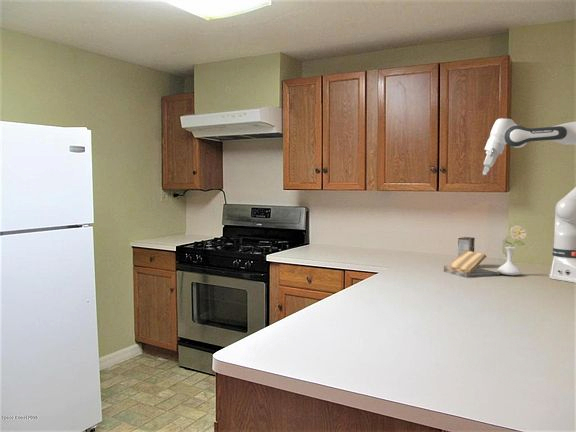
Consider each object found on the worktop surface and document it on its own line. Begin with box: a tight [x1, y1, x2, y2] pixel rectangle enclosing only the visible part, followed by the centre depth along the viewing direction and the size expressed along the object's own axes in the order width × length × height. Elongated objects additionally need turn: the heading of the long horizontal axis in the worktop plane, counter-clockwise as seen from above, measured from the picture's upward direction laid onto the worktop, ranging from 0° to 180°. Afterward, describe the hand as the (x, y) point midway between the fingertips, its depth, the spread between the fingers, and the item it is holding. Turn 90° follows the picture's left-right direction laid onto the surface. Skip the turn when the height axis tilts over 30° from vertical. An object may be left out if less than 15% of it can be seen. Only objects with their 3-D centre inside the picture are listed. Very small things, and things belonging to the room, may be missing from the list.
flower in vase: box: [496, 225, 528, 276], centre depth 236 cm, size 13×11×25 cm
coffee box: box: [457, 236, 475, 257], centre depth 260 cm, size 9×6×16 cm
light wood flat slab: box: [449, 250, 487, 273], centre depth 239 cm, size 15×12×2 cm
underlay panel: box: [443, 265, 499, 278], centre depth 240 cm, size 17×19×3 cm
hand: (484, 174), depth 246 cm, fingers open, 8 cm apart
